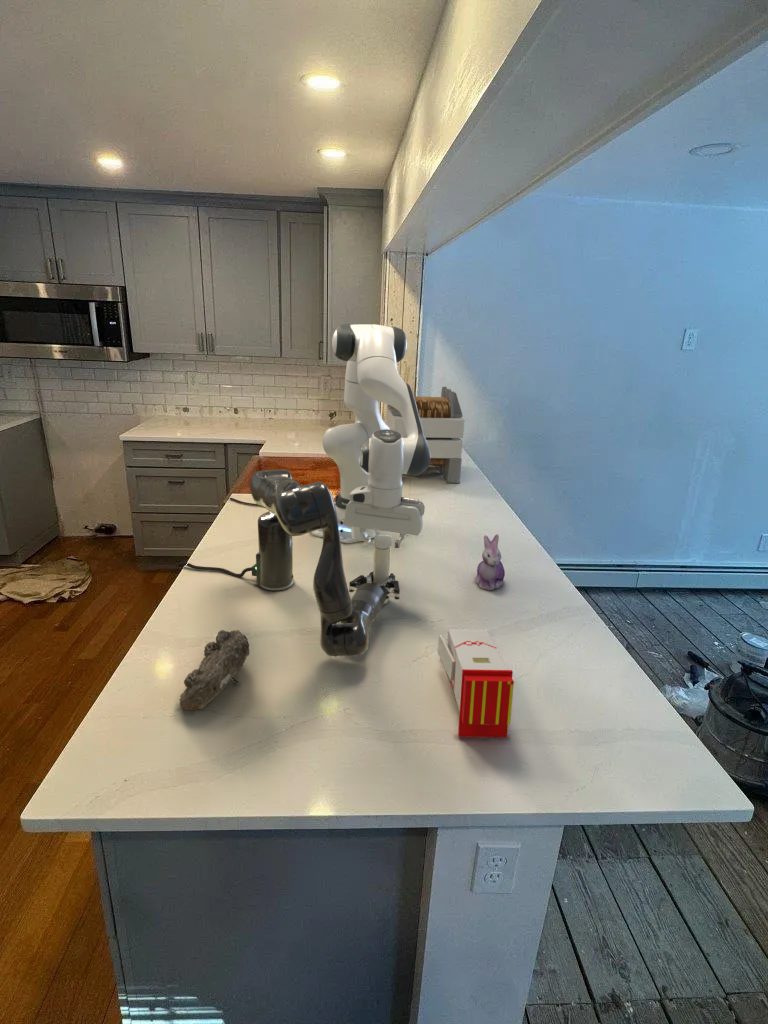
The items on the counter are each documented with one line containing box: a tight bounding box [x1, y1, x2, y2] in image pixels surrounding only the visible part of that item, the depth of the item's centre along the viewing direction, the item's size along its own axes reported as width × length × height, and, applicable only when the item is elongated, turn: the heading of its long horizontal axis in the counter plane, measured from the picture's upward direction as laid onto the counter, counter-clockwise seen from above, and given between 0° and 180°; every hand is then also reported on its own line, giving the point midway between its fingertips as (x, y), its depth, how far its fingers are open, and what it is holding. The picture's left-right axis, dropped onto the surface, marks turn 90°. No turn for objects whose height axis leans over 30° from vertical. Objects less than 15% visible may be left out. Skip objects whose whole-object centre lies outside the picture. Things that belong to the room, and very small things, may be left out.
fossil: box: [179, 629, 250, 712], centre depth 117 cm, size 22×10×15 cm
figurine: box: [475, 534, 506, 591], centre depth 164 cm, size 9×10×15 cm
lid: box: [373, 534, 393, 548], centre depth 148 cm, size 5×5×2 cm
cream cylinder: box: [372, 545, 391, 605], centre depth 151 cm, size 4×4×18 cm
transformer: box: [385, 386, 465, 484], centre depth 268 cm, size 34×33×41 cm
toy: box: [437, 628, 515, 738], centre depth 117 cm, size 12×13×30 cm
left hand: (383, 575), depth 154 cm, fingers closed on cream cylinder, 4 cm apart
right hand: (382, 545), depth 148 cm, fingers open, 7 cm apart
